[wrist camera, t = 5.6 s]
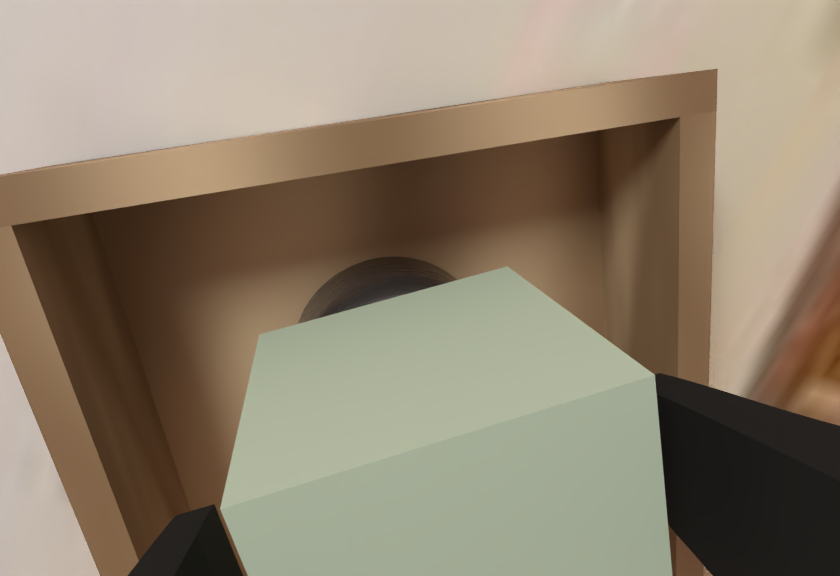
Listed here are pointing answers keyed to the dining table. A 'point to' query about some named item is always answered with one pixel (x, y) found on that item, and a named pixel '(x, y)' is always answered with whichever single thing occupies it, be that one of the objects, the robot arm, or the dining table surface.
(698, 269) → the wooden tray
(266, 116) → the dining table surface
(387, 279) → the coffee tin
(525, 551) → the pale green cube
